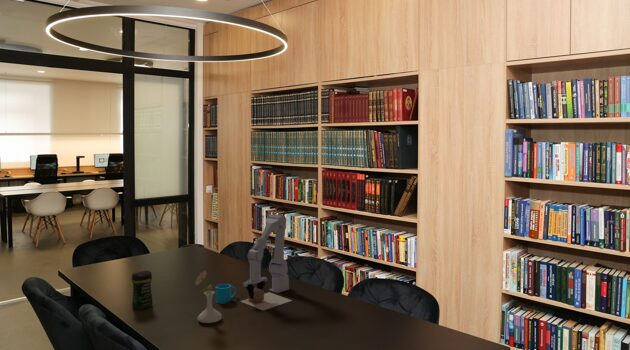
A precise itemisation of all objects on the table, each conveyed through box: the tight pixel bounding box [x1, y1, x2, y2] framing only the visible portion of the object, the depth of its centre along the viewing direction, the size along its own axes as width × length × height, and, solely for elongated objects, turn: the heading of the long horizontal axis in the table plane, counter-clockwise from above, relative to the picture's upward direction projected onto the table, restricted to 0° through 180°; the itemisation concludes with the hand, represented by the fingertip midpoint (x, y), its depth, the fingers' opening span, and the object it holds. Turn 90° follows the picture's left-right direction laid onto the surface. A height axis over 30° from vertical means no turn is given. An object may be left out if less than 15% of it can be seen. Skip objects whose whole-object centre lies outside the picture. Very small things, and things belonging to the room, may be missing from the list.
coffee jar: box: [131, 270, 153, 310], centre depth 236 cm, size 10×8×19 cm
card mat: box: [240, 291, 293, 311], centre depth 244 cm, size 20×19×1 cm
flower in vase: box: [194, 270, 223, 324], centre depth 217 cm, size 13×11×25 cm
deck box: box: [246, 287, 265, 302], centre depth 244 cm, size 8×5×5 cm, turn 46°
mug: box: [215, 283, 237, 305], centre depth 247 cm, size 12×8×8 cm
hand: (255, 296), depth 244 cm, fingers closed on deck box, 5 cm apart
